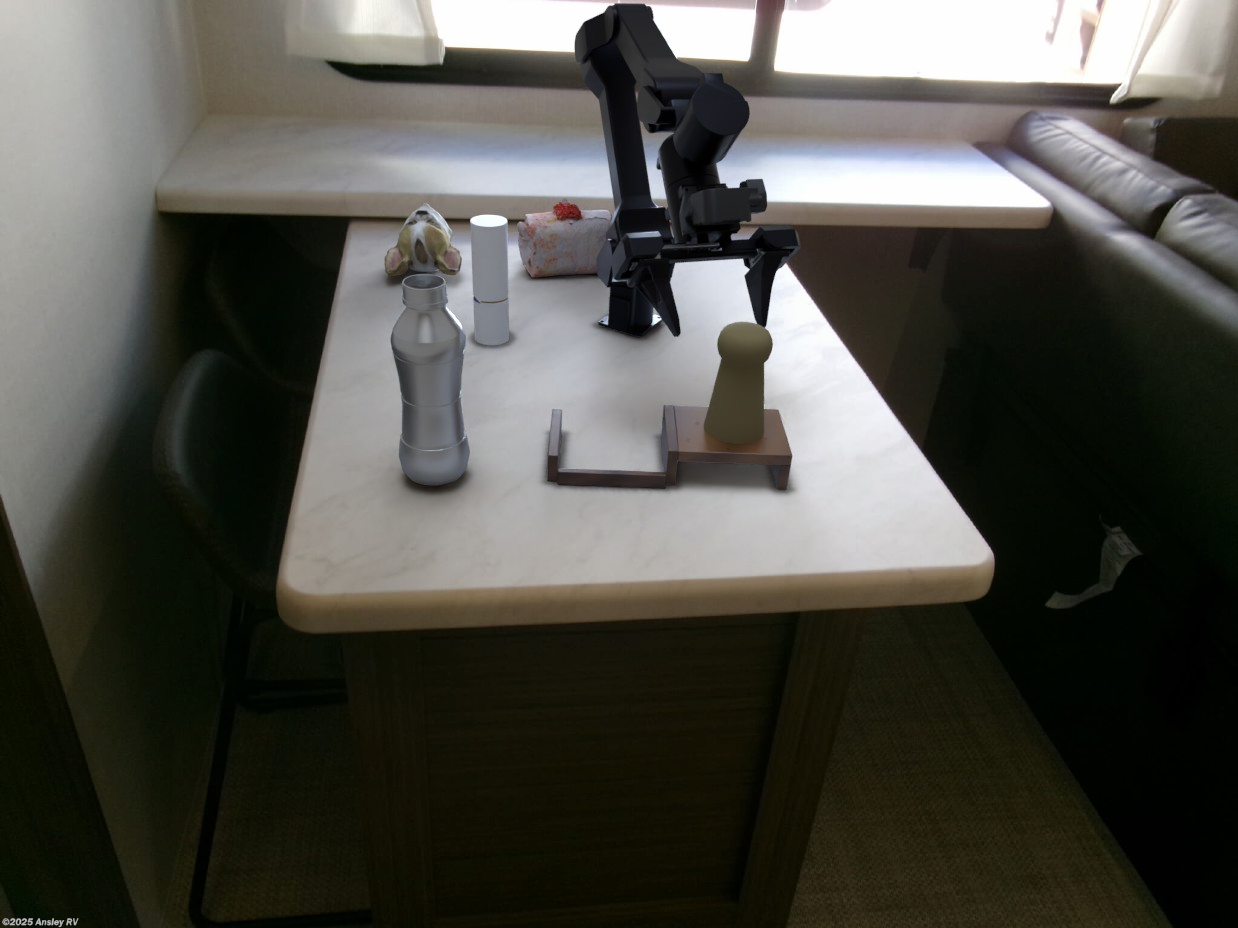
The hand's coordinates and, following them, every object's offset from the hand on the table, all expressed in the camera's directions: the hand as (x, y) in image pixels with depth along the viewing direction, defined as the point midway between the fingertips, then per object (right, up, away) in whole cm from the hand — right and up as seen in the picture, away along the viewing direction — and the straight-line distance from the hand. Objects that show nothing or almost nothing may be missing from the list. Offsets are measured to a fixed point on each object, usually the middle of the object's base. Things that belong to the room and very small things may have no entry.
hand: (720, 331), depth 95 cm
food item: (-18, +15, +44) cm, 50 cm away
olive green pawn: (+1, -10, 0) cm, 10 cm away
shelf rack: (-5, -13, +1) cm, 14 cm away
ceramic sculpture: (-38, +15, +42) cm, 58 cm away
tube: (-26, +2, +24) cm, 35 cm away
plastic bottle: (-28, -15, -3) cm, 32 cm away
